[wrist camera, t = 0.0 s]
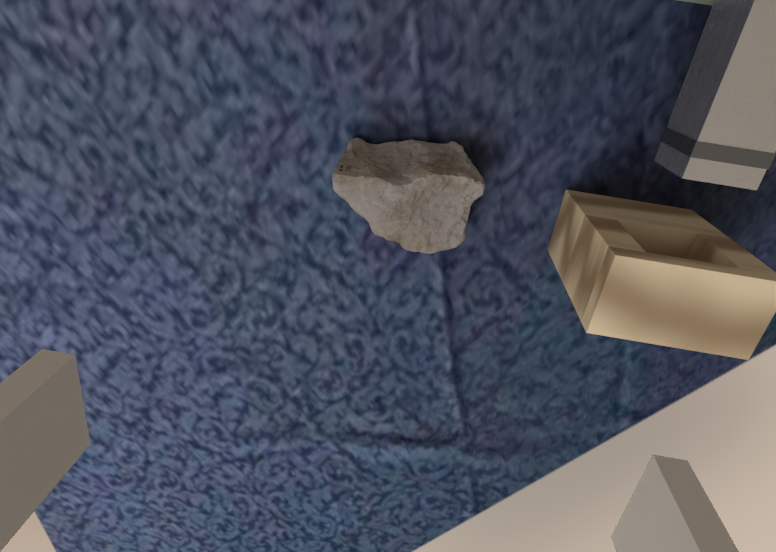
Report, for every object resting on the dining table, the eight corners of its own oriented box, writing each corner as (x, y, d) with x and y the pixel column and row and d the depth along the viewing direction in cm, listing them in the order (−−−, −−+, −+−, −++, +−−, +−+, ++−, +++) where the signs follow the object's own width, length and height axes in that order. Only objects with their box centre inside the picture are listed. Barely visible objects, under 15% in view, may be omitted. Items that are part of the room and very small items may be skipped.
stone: (456, 249, 40) (456, 284, 35) (332, 217, 40) (314, 247, 34) (489, 148, 36) (495, 169, 31) (353, 112, 36) (336, 128, 31)
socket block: (566, 189, 37) (615, 255, 26) (691, 209, 36) (791, 283, 26) (547, 249, 39) (586, 332, 28) (665, 269, 39) (748, 359, 28)
